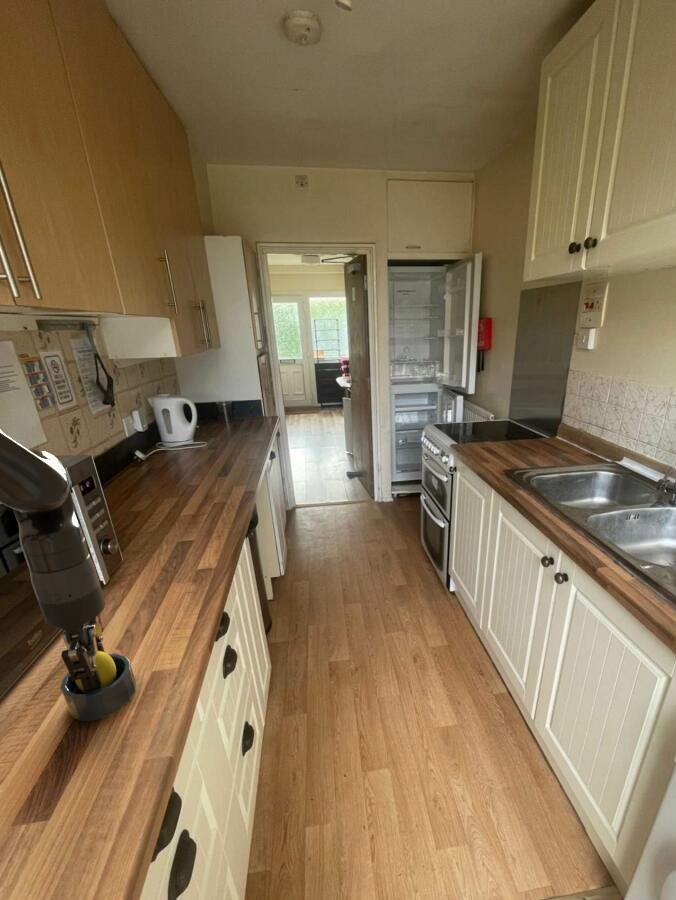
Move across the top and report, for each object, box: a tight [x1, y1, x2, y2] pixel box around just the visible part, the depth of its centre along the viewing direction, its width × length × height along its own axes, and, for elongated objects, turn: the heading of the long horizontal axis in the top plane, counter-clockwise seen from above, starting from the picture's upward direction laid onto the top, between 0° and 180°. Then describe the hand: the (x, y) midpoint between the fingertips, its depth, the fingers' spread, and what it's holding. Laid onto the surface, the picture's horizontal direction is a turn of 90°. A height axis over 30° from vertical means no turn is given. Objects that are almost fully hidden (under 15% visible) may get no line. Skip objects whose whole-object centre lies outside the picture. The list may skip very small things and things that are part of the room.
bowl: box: [59, 653, 137, 722], centre depth 70 cm, size 9×9×6 cm
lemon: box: [75, 651, 116, 694], centre depth 69 cm, size 6×6×8 cm
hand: (96, 674), depth 69 cm, fingers closed on lemon, 5 cm apart
